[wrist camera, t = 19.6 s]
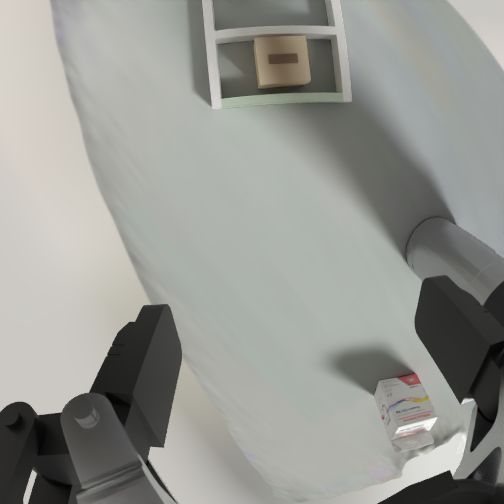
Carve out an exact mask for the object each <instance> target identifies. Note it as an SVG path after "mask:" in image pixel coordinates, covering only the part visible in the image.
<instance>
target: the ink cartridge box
mask: <svg viewBox="0 0 504 504" xmlns="http://www.w3.org/2000/svg"><path fill="white" fill-rule="evenodd" d="M374 398H375V401H376V403H377V406H378V409H379V411H380V414H381V417H382V420H383V423H384V425H385V428H386V431H387V434H388V437H389V440H390V441H391V442H392V445H393V447H394V450H395V452H396V453H402V452H405V451H410V450H413V449H416V448H420V447H423V446H426V445H429V444H433V443H434V440H433V439H432V437H431V435H430V433H429V430H430V429H431V427H432V425H433V424H434V422H435V421H436V419H437V418H438V416H437V414H436V412H435V410H434V408H433V406H432V404H431V402H430V400H429V398H428V396H427V394H426V392H425V390H424V388H423V386H422V384H421V382H420V380H419V378H418V376H417V375H416V374H412V375H407V376H402V377H396V378H391V379H385V380H380V381H379V382H378V385H377V388H376V391H375V394H374ZM416 440H420V442H419V443H416V444H415V445H407V443H409V442H412V441H416Z"/></svg>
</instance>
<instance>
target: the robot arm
mask: <svg viewBox="0 0 504 504" xmlns="http://www.w3.org/2000/svg"><path fill="white" fill-rule="evenodd" d="M406 257H407V262H408V265H409V267H410V268H411V270H412V271H413V272H414V273H415V274H416V275H417V276H418V277H419V278H420V279H421V280H422V286H421V291H420V296H419V301H418V306H417V310H416V315H415V329H416V333H417V335H418V337H419V338H420V340H421V341H422V343H423V344H424V346H425V347H426V349H427V350H428V352H429V354H430V355H431V357H432V358H433V360H434V361H435V363H436V365H437V366H438V368H439V369H440V371H441V373H442V374H443V376H444V378H445V379H446V381H447V383H448V384H449V386H450V388H451V389H452V391H453V393H454V394H455V396H456V398H457V399H458V401H459V403H460V405H461V404H464V403H466V402H469V401H471V400H475V402H476V404H475V406H474V408H473V410H472V416H471V421H470V427H469V432H468V437H467V441H466V446H465V450H464V454H463V458H462V461H461V463H460V465H459V467H458V468H457V470H456V472H455V474H454V476H453V477H452V474H451V472H450V470H449V471H446V472H444V473H441V474H439V475H437V476H434V477H432V478H429V479H426V480H424V481H421V482H418V483H415V484H412V485H410V486H408V487H406V488H404V489H403V490H401V491H399V492H398V493H396V494H394V495H392V496H391V497H389V498H387V499H385V500H383V501H382V502H380V503H378V504H504V258H502V257H501V256H500V255H498V254H497V253H496V252H495V251H494V250H493V249H492V248H490V247H489V246H488V245H486V244H485V243H483V242H482V241H480V240H479V239H477V238H476V237H474V236H473V235H471V234H470V233H468V232H467V231H465V230H464V229H462V228H461V227H459V226H457V225H454V224H453V223H451V222H450V221H448V220H446V219H444V218H441V217H433V218H430V219H427V220H426V221H424V222H422V223H421V224H420V225H419V226H418V227H417V228H416V229H415V230H414V232H413V233H412V235H411V237H410V239H409V242H408V245H407V250H406ZM107 355H108V356H107V357H106V358H105V360H104V362H103V364H102V366H101V368H100V370H99V372H98V374H97V377H96V379H95V381H94V383H93V385H92V388H91V390H90V392H89V393H84V394H81V395H78V396H77V397H74V398H73V399H71V400H70V401H69V402H68V403H67V404H66V405H65V407H64V408H63V410H62V412H61V413H54V414H45V415H37V413H36V412H35V411H34V410H33V408H32V407H31V406H30V405H29V404H27V403H25V402H15V403H12V404H10V405H8V406H6V407H5V408H4V409H3V410H2V411H1V412H0V504H23V497H24V493H25V490H26V487H27V484H28V481H29V477H30V474H31V472H32V469H33V470H34V471H35V472H36V473H37V476H36V479H35V483H34V485H33V489H32V492H31V495H30V499H29V503H28V504H179V503H178V502H177V500H176V499H175V497H174V496H173V495H172V493H171V492H170V490H169V489H168V487H167V486H166V485H165V483H164V482H163V480H162V478H161V477H160V475H159V474H158V472H157V471H156V469H155V468H154V466H153V465H152V463H151V461H150V460H149V459H148V455H149V450H150V447H164V443H165V438H166V433H167V428H168V423H169V418H170V413H171V408H172V403H173V399H174V394H175V389H176V384H177V380H178V375H179V370H180V366H181V361H182V350H181V344H180V340H179V337H178V333H177V330H176V326H175V323H174V319H173V316H172V312H171V309H170V307H169V305H168V304H161V305H144V306H143V307H142V309H141V311H140V313H139V315H138V317H137V319H136V321H135V322H129V323H128V324H127V325H125V326H124V327H123V328H122V329H121V330H120V331H119V332H118V334H117V336H116V337H115V339H114V341H113V344H112V347H110V350H109V352H108V354H107Z"/></svg>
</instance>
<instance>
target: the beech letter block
mask: <svg viewBox="0 0 504 504" xmlns="http://www.w3.org/2000/svg"><path fill="white" fill-rule="evenodd" d="M254 57H255V66H256V75H257V84H258V89H264V88H278V87H299V86H304V85H305V84H307V83H309V82H311V76H310V67H309V59H308V51H307V43H306V36H277V37H259V38H255V40H254Z"/></svg>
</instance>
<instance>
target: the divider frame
mask: <svg viewBox="0 0 504 504" xmlns="http://www.w3.org/2000/svg"><path fill="white" fill-rule="evenodd" d="M325 5H326V11H327V18H328V25H329V26H304V25H288V26H260V27H246V28H235V29H225V30H217V31H216V28H215V17H214V6H213V0H202V6H203V17H204V29H205V40H206V51H207V61H208V72H209V82H210V91H211V101H212V109H214V110H218V109H226V108H235V107H245V106H257V105H271V104H289V103H347V102H352V94H351V82H350V72H349V63H348V54H347V46H346V38H345V31H344V24H343V18H342V12H341V6H340V0H325ZM277 36H306V39H328V40H331V47H332V55H333V64H334V74H335V84H336V93H284V94H266V95H253V96H242V97H232V98H223V99H222V89H221V79H220V69H219V59H218V49H217V44H223V43H232V42H242V41H254V40H255V38H259V37H277Z"/></svg>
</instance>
